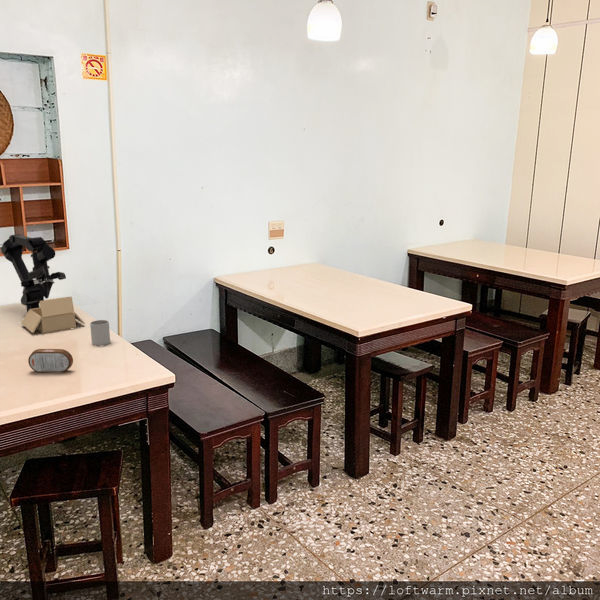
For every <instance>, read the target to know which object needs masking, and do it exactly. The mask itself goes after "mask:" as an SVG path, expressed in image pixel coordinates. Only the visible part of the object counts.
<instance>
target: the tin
mask: <svg viewBox="0 0 600 600" xmlns="http://www.w3.org/2000/svg"><path fill="white" fill-rule="evenodd" d="M27 362H28V365H29V367H30V368H31V370H33V371H34V372H36V373H40V374H42V373H44V372H62V373H65V372H67V371H68V370H69V369H70V368H71V367H72V366H73V365H74V359H73V356H72V354H71V353H70V352H69V351H68V350H66V349H64V348H37V349H35V350H33V351H32V352H31V353H30V355H29V356H28V361H27ZM44 374H45V373H44Z"/></svg>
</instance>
